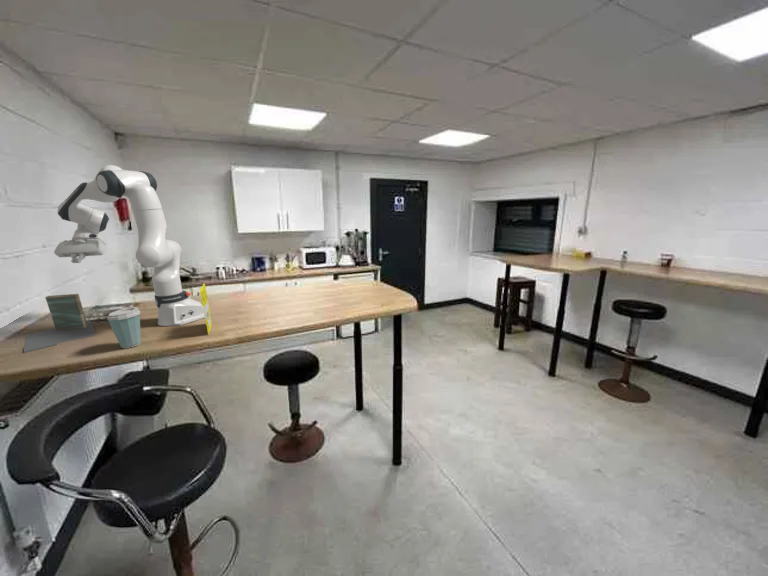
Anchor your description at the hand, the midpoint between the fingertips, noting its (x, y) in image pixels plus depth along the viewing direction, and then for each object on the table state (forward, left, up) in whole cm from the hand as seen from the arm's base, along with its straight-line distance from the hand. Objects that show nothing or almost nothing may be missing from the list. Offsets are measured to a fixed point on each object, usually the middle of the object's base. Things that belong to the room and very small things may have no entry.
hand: (75, 262), depth 157 cm
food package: (-36, +63, -30) cm, 78 cm away
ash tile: (+8, +11, -29) cm, 32 cm away
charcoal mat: (+12, +18, -29) cm, 36 cm away
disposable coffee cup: (-8, +56, -30) cm, 64 cm away
